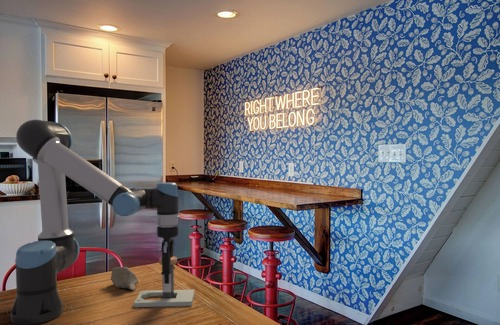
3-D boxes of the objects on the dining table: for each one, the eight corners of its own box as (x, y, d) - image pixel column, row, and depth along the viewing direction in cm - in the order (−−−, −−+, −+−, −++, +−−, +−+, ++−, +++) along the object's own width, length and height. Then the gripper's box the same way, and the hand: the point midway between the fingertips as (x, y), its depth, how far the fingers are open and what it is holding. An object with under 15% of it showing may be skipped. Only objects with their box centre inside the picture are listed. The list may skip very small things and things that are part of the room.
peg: (157, 301, 139) (157, 261, 139) (160, 295, 146) (160, 256, 145) (176, 301, 140) (175, 260, 139) (178, 294, 146) (178, 256, 146)
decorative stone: (126, 293, 150) (126, 271, 150) (108, 284, 160) (107, 264, 159) (145, 287, 156) (145, 267, 156) (126, 279, 166) (126, 260, 165)
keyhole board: (133, 307, 136) (133, 302, 136) (141, 294, 148) (141, 290, 148) (191, 305, 137) (191, 301, 137) (194, 293, 149) (194, 289, 149)
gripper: (175, 229, 134) (175, 297, 134) (180, 221, 151) (181, 281, 151) (152, 230, 133) (153, 298, 134) (161, 221, 150) (161, 282, 151)
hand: (168, 289), depth 143 cm, fingers closed on peg, 4 cm apart
